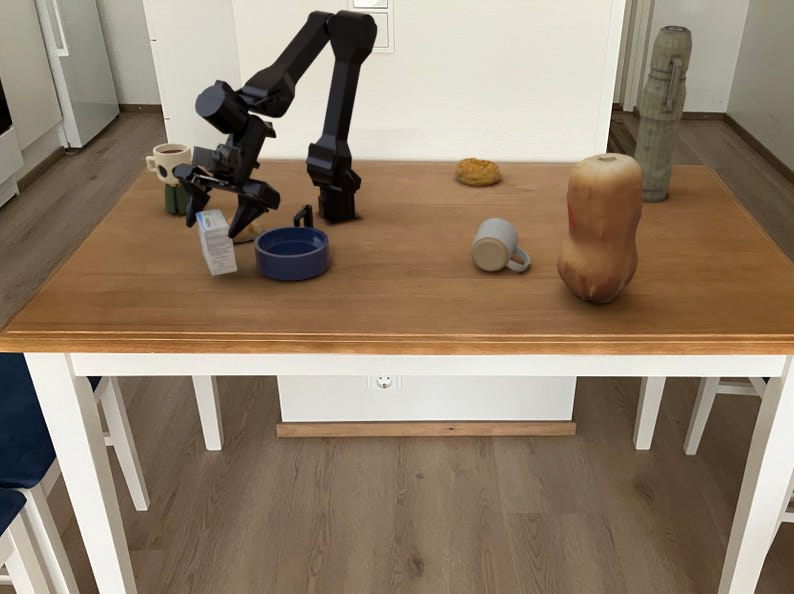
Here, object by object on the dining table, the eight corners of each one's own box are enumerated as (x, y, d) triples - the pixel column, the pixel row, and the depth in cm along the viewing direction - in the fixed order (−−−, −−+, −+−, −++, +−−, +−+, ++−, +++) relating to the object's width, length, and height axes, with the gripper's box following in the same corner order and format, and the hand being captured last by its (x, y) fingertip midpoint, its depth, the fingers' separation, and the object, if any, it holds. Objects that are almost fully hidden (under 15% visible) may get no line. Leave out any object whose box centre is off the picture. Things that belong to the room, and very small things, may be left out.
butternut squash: (550, 277, 140) (566, 140, 126) (624, 280, 140) (648, 143, 126) (557, 316, 128) (575, 170, 114) (638, 319, 128) (666, 174, 114)
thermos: (655, 183, 180) (684, 22, 160) (675, 203, 170) (709, 34, 151) (618, 184, 179) (644, 22, 159) (636, 204, 169) (665, 34, 150)
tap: (305, 242, 149) (301, 200, 144) (322, 244, 149) (319, 202, 144) (289, 259, 143) (285, 215, 138) (308, 261, 143) (304, 218, 138)
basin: (312, 245, 148) (310, 220, 146) (341, 272, 139) (340, 247, 136) (247, 259, 143) (243, 234, 140) (272, 289, 133) (269, 263, 131)
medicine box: (238, 272, 133) (230, 225, 128) (211, 277, 131) (203, 230, 126) (228, 253, 139) (221, 207, 134) (202, 257, 137) (194, 211, 132)
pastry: (220, 249, 146) (217, 230, 143) (205, 237, 150) (202, 219, 148) (265, 237, 151) (263, 218, 148) (249, 225, 155) (247, 207, 153)
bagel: (502, 188, 175) (503, 167, 172) (453, 187, 175) (454, 166, 172) (500, 172, 183) (501, 152, 181) (454, 171, 183) (454, 151, 181)
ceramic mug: (468, 271, 141) (470, 232, 136) (476, 252, 147) (479, 214, 143) (526, 279, 139) (530, 240, 135) (532, 259, 146) (536, 221, 141)
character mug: (150, 216, 157) (137, 153, 150) (160, 202, 163) (149, 141, 156) (204, 217, 158) (194, 155, 150) (212, 203, 163) (203, 143, 156)
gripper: (170, 115, 128) (134, 201, 126) (262, 133, 121) (225, 225, 119) (210, 148, 138) (177, 228, 136) (296, 166, 132) (263, 251, 130)
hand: (208, 232), depth 130 cm, fingers closed on medicine box, 8 cm apart
